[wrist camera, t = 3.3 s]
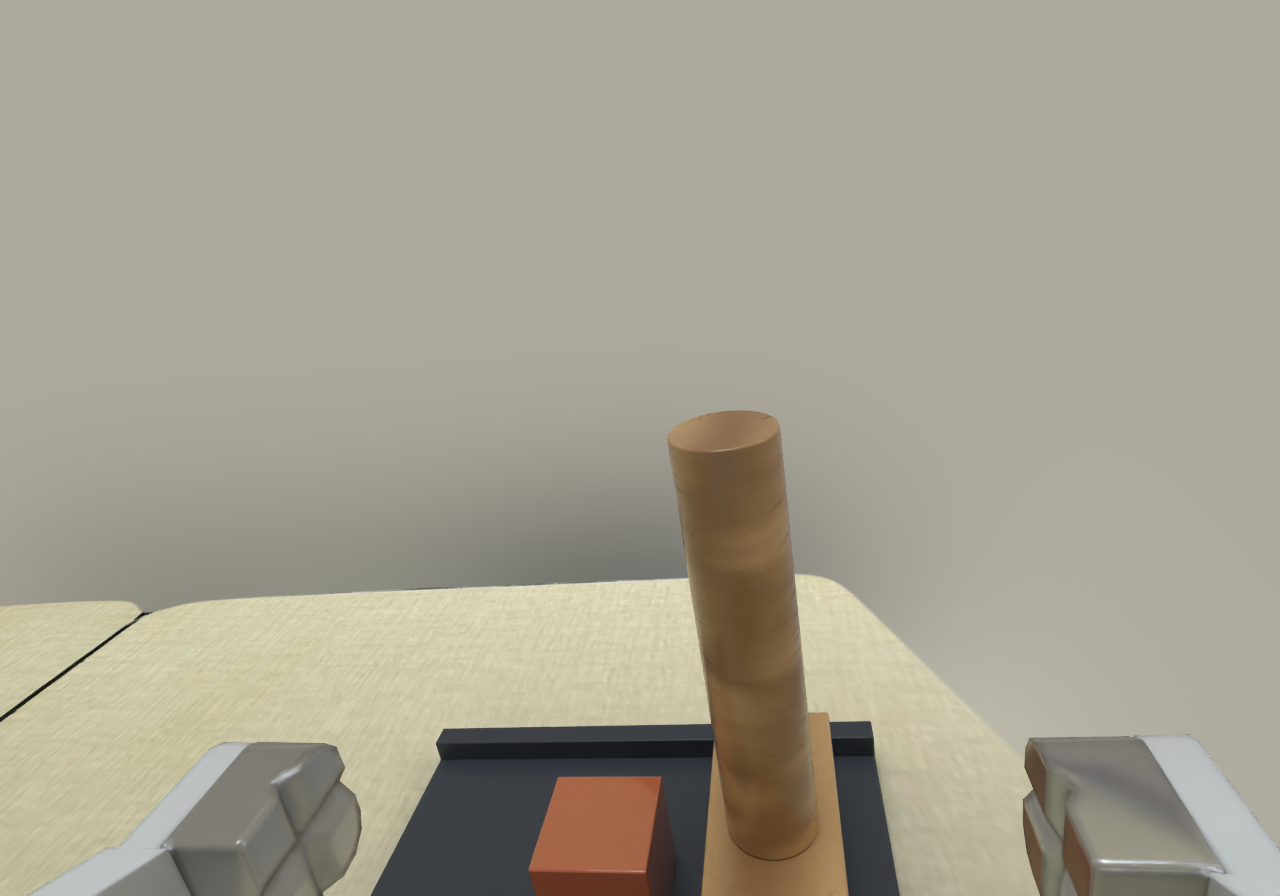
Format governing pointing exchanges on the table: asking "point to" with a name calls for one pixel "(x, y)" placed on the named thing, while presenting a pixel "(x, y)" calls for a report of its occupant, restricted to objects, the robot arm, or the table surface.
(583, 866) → the block
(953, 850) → the table surface
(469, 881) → the tray
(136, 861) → the robot arm
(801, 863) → the brush
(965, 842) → the table surface
